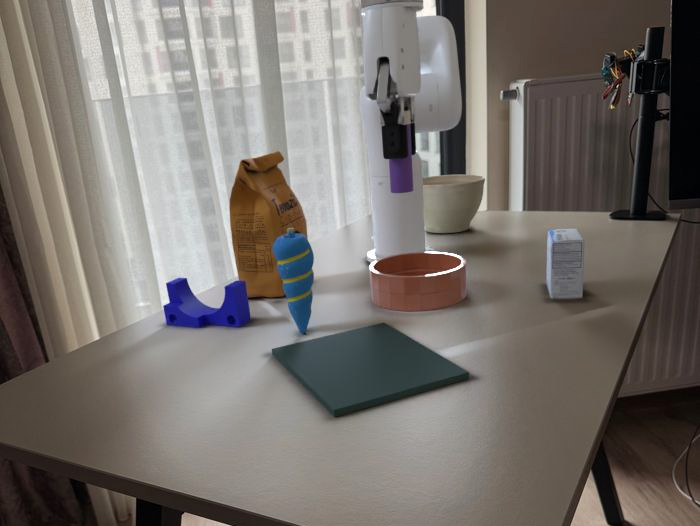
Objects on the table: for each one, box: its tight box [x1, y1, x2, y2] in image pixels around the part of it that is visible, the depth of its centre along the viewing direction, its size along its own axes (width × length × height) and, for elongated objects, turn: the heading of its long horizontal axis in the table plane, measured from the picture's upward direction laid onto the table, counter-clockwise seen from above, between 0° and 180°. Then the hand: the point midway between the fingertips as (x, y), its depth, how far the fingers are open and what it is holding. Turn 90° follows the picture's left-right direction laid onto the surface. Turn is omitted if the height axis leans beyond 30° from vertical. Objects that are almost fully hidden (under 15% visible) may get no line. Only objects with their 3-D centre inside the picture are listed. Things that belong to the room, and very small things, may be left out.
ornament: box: [273, 224, 315, 335], centre depth 85 cm, size 5×5×15 cm
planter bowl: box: [423, 174, 486, 234], centre depth 140 cm, size 16×16×11 cm
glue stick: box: [389, 111, 413, 193], centre depth 84 cm, size 3×3×10 cm
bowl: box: [368, 251, 468, 312], centre depth 97 cm, size 14×14×6 cm
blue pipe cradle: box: [162, 277, 252, 329], centre depth 95 cm, size 12×4×6 cm, turn 65°
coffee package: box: [229, 150, 309, 299], centre depth 104 cm, size 10×12×22 cm
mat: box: [271, 322, 470, 418], centre depth 76 cm, size 20×16×1 cm
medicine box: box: [545, 228, 585, 299], centre depth 93 cm, size 8×4×9 cm, turn 168°
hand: (400, 155), depth 84 cm, fingers closed on glue stick, 3 cm apart
